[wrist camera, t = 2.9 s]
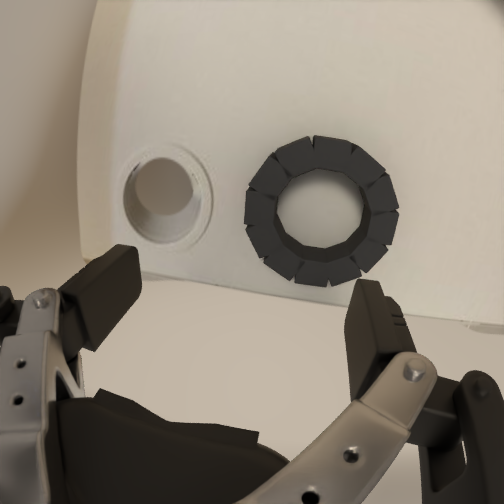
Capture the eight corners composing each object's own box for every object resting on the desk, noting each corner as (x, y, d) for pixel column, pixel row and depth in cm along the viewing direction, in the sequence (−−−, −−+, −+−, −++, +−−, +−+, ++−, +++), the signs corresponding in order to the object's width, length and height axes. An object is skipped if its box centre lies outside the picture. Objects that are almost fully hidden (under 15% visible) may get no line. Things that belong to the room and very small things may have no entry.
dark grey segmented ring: (246, 260, 24) (240, 275, 22) (256, 128, 20) (250, 129, 18) (371, 277, 23) (377, 294, 21) (399, 151, 19) (411, 155, 16)
